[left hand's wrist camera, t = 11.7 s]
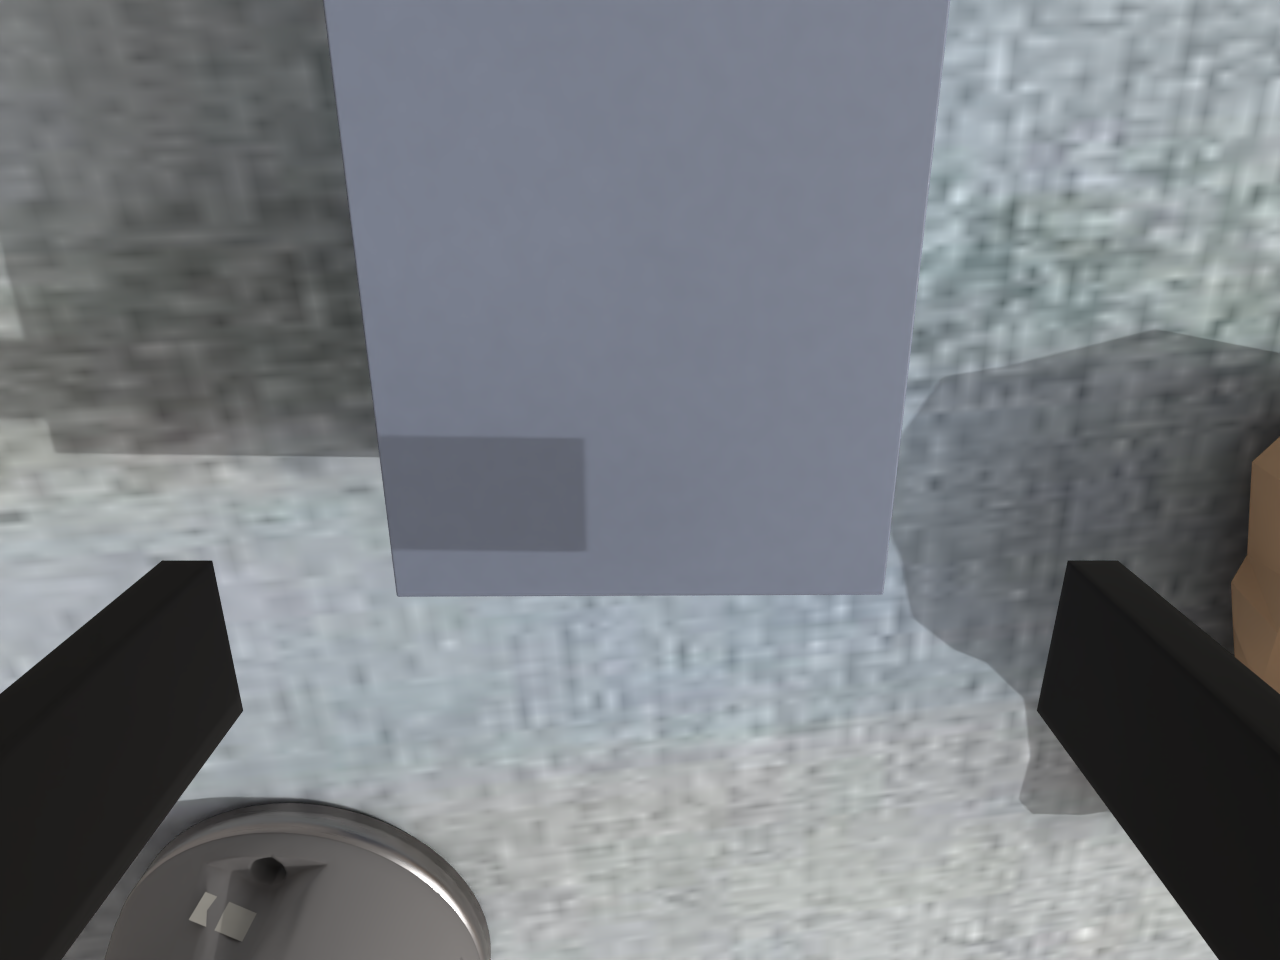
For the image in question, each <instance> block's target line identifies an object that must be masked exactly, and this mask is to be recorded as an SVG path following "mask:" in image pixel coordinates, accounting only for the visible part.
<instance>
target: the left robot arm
mask: <svg viewBox="0 0 1280 960" xmlns="http://www.w3.org/2000/svg"><path fill="white" fill-rule="evenodd" d="M242 711H243V708H242V703H241V698H240V693H239V688H238V684H237V679H236V674H235V669H234V664H233V659H232V654H231V650H230V645H229V640H228V635H227V630H226V625H225V621H224V616H223V611H222V606H221V601H220V596H219V591H218V587H217V582H216V577H215V572H214V567H213V562H212V561H161V562H160V563H159V564H158V565H156V566H155V567H154V568H153V569H152V570H150V571H149V572H148V573H147V574H145V575H144V576H143V577H142V578H141V579H139V580H138V581H137V582H136V583H135V584H133V585H132V586H131V587H130V588H128V589H127V590H126V591H125V592H124V593H122V594H121V595H120V596H119V597H117V598H116V599H115V600H114V601H113V602H111V603H110V604H109V605H108V606H107V607H105V608H104V609H103V610H102V611H100V612H99V613H98V614H97V615H96V616H94V617H93V618H92V619H91V620H90V621H88V622H87V623H86V624H85V625H83V626H82V627H81V628H80V629H79V630H77V631H76V632H75V633H74V634H73V635H71V636H70V637H69V638H68V639H66V640H65V641H64V642H63V643H62V644H60V645H59V646H58V647H57V648H56V649H54V650H53V651H52V652H51V653H49V654H48V655H47V656H46V657H45V658H43V659H42V660H41V661H40V662H39V663H37V664H36V665H35V666H34V667H32V668H31V669H30V670H29V671H28V672H26V673H25V674H24V675H23V676H22V677H20V678H19V679H18V680H17V681H15V682H14V683H13V684H12V685H11V686H9V687H8V688H7V689H6V690H4V691H3V692H2V693H1V694H0V960H61V959H62V958H63V956H64V955H65V954H66V952H67V951H68V950H69V948H70V947H71V946H72V944H73V943H74V941H75V940H76V939H77V937H78V936H79V935H80V933H81V932H82V930H83V929H84V928H85V926H86V925H87V924H88V922H89V921H90V920H91V918H92V917H93V915H94V914H95V913H96V911H97V910H98V909H99V907H100V906H101V904H102V903H103V902H104V900H105V899H106V898H107V896H108V895H109V894H110V892H111V891H112V889H113V888H114V887H115V885H116V884H117V883H118V881H119V880H120V878H121V877H122V876H123V874H124V873H125V872H126V870H127V869H128V867H129V866H130V865H131V863H132V862H133V861H134V859H135V858H136V857H137V855H138V854H139V852H140V851H141V850H142V848H143V847H144V846H145V844H146V843H147V841H148V840H149V839H150V837H151V836H152V835H153V833H154V832H155V831H156V829H157V828H158V826H159V825H160V824H161V822H162V821H163V820H164V818H165V817H166V815H167V814H168V813H169V811H170V810H171V809H172V807H173V806H174V805H175V803H176V802H177V800H178V799H179V798H180V796H181V795H182V794H183V792H184V791H185V789H186V788H187V787H188V785H189V784H190V783H191V781H192V780H193V779H194V777H195V776H196V774H197V773H198V772H199V770H200V769H201V768H202V766H203V765H204V763H205V762H206V761H207V759H208V758H209V757H210V755H211V754H212V753H213V751H214V750H215V748H216V747H217V746H218V744H219V743H220V742H221V740H222V739H223V737H224V736H225V735H226V733H227V732H228V731H229V729H230V728H231V727H232V725H233V724H234V722H235V721H236V720H237V718H238V717H239V716H240V714H241V713H242ZM1037 711H1038V713H1039V714H1040V716H1041V717H1042V718H1043V720H1044V721H1045V722H1046V724H1047V725H1048V727H1049V728H1050V729H1051V731H1052V732H1053V733H1054V735H1055V736H1056V737H1057V739H1058V740H1059V742H1060V743H1061V744H1062V746H1063V747H1064V748H1065V750H1066V751H1067V753H1068V754H1069V755H1070V757H1071V758H1072V759H1073V761H1074V762H1075V763H1076V765H1077V766H1078V768H1079V769H1080V770H1081V772H1082V773H1083V774H1084V776H1085V777H1086V779H1087V780H1088V781H1089V783H1090V784H1091V785H1092V787H1093V788H1094V789H1095V791H1096V792H1097V794H1098V795H1099V796H1100V798H1101V799H1102V800H1103V802H1104V803H1105V805H1106V806H1107V807H1108V809H1109V810H1110V811H1111V813H1112V814H1113V815H1114V817H1115V818H1116V820H1117V821H1118V822H1119V824H1120V825H1121V826H1122V828H1123V829H1124V831H1125V832H1126V833H1127V835H1128V836H1129V837H1130V839H1131V840H1132V841H1133V843H1134V844H1135V846H1136V847H1137V848H1138V850H1139V851H1140V852H1141V854H1142V855H1143V857H1144V858H1145V859H1146V861H1147V862H1148V863H1149V865H1150V866H1151V868H1152V869H1153V870H1154V872H1155V873H1156V874H1157V876H1158V877H1159V878H1160V880H1161V881H1162V883H1163V884H1164V885H1165V887H1166V888H1167V889H1168V891H1169V892H1170V894H1171V895H1172V896H1173V898H1174V899H1175V900H1176V902H1177V903H1178V904H1179V906H1180V907H1181V909H1182V910H1183V911H1184V913H1185V914H1186V915H1187V917H1188V918H1189V920H1190V921H1191V922H1192V924H1193V925H1194V926H1195V928H1196V929H1197V930H1198V932H1199V933H1200V935H1201V936H1202V937H1203V939H1204V940H1205V941H1206V943H1207V944H1208V946H1209V947H1210V948H1211V950H1212V951H1213V952H1214V954H1215V955H1216V956H1217V958H1218V959H1219V960H1280V694H1279V693H1278V692H1277V691H1276V690H1274V689H1273V688H1272V687H1271V686H1269V685H1268V684H1267V683H1266V682H1265V681H1263V680H1262V679H1261V678H1260V677H1258V676H1257V675H1256V674H1255V673H1254V672H1252V671H1251V670H1250V669H1249V668H1248V667H1246V666H1245V665H1244V664H1243V663H1241V662H1240V661H1239V660H1238V659H1237V658H1235V657H1234V656H1233V655H1232V654H1231V653H1229V652H1228V651H1227V650H1226V649H1224V648H1223V647H1222V646H1221V645H1220V644H1218V643H1217V642H1216V641H1215V640H1214V639H1212V638H1211V637H1210V636H1209V635H1207V634H1206V633H1205V632H1204V631H1203V630H1201V629H1200V628H1199V627H1198V626H1197V625H1195V624H1194V623H1193V622H1192V621H1190V620H1189V619H1188V618H1187V617H1186V616H1184V615H1183V614H1182V613H1181V612H1180V611H1178V610H1177V609H1176V608H1175V607H1173V606H1172V605H1171V604H1170V603H1169V602H1167V601H1166V600H1165V599H1164V598H1163V597H1161V596H1160V595H1159V594H1158V593H1156V592H1155V591H1154V590H1153V589H1152V588H1150V587H1149V586H1148V585H1147V584H1145V583H1144V582H1143V581H1142V580H1141V579H1139V578H1138V577H1137V576H1136V575H1135V574H1133V573H1132V572H1131V571H1130V570H1128V569H1127V568H1126V567H1125V566H1124V565H1122V564H1121V563H1120V562H1119V561H1068V562H1067V567H1066V572H1065V577H1064V582H1063V587H1062V591H1061V596H1060V601H1059V606H1058V611H1057V616H1056V621H1055V625H1054V630H1053V635H1052V640H1051V645H1050V650H1049V654H1048V659H1047V664H1046V669H1045V674H1044V679H1043V684H1042V688H1041V693H1040V698H1039V703H1038V708H1037ZM490 958H491V943H490V936H489V930H488V926H487V923H486V919H485V916H484V914H483V911H482V909H481V907H480V905H479V903H478V901H477V899H476V897H475V895H474V894H473V892H472V891H471V889H470V888H469V886H468V885H467V884H466V882H465V881H464V880H463V878H462V877H461V876H460V875H459V874H458V873H457V872H456V870H455V869H454V868H453V867H452V866H451V865H450V864H449V863H447V862H446V861H445V860H444V859H443V858H442V857H441V856H440V855H438V854H437V853H436V852H435V851H433V850H432V849H431V848H430V847H428V846H427V845H425V844H424V843H422V842H421V841H419V840H418V839H416V838H414V837H413V836H411V835H409V834H407V833H405V832H404V831H402V830H400V829H398V828H396V827H393V826H391V825H389V824H387V823H385V822H382V821H380V820H377V819H374V818H371V817H369V816H366V815H363V814H359V813H356V812H352V811H348V810H344V809H339V808H334V807H329V806H322V805H314V804H300V803H276V804H264V805H255V806H250V807H244V808H239V809H235V810H232V811H228V812H225V813H221V814H219V815H216V816H213V817H211V818H208V819H206V820H204V821H202V822H200V823H198V824H196V825H194V826H192V827H190V828H189V829H187V830H186V831H184V832H183V833H181V834H180V835H178V836H177V837H176V838H175V839H173V840H172V841H171V842H170V843H169V844H167V845H166V846H165V848H164V849H163V850H162V851H161V852H160V853H159V854H158V855H157V856H156V858H155V859H154V861H153V862H152V863H151V865H150V866H149V868H148V869H147V870H146V872H145V873H144V875H143V876H142V878H141V879H140V880H139V882H138V883H137V885H136V886H135V888H134V889H133V890H132V892H131V893H130V895H129V896H128V898H127V900H126V902H125V904H124V906H123V908H122V910H121V913H120V916H119V918H118V920H117V922H116V924H115V927H114V930H113V933H112V936H111V939H110V943H109V946H108V949H107V953H106V956H105V960H490Z"/></svg>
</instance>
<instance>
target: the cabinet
mask: <svg viewBox="0 0 1280 960" xmlns="http://www.w3.org/2000/svg"><path fill="white" fill-rule="evenodd" d="M323 4H324V12H325V20H326V28H327V36H328V44H329V52H330V60H331V68H332V76H333V85H334V93H335V101H336V109H337V117H338V125H339V133H340V141H341V149H342V157H343V165H344V173H345V181H346V189H347V197H348V205H349V213H350V221H351V230H352V238H353V246H354V254H355V262H356V270H357V278H358V286H359V294H360V302H361V310H362V318H363V326H364V334H365V342H366V350H367V358H368V367H369V375H370V383H371V391H372V399H373V407H374V415H375V423H376V431H377V439H378V447H379V455H380V463H381V471H382V479H383V487H384V495H385V504H386V512H387V520H388V528H389V536H390V544H391V552H392V560H393V568H394V576H395V584H396V592H397V596H399V597H405V596H633V595H861V594H883V591H884V582H885V573H886V564H887V555H888V546H889V537H890V529H891V520H892V511H893V502H894V493H895V484H896V476H897V467H898V458H899V449H900V440H901V431H902V422H903V414H904V405H905V396H906V387H907V378H908V369H909V360H910V352H911V343H912V334H913V325H914V316H915V307H916V298H917V290H918V281H919V272H920V263H921V254H922V245H923V237H924V228H925V219H926V210H927V201H928V192H929V183H930V175H931V166H932V157H933V148H934V139H935V130H936V121H937V113H938V104H939V95H940V86H941V77H942V68H943V59H944V51H945V42H946V33H947V24H948V15H949V6H950V0H323Z"/></svg>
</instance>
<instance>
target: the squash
mask: <svg viewBox="0 0 1280 960" xmlns="http://www.w3.org/2000/svg"><path fill="white" fill-rule="evenodd" d="M1231 593H1232V616H1233V636H1234V654H1235V658H1237V659H1238V660H1239V661H1240V662H1241V663H1243V664H1244V665H1245V666H1246V667H1248V668H1249V669H1250V670H1251V671H1252V672H1254V673H1255V674H1256V675H1257V676H1258V677H1260V678H1261V679H1262V680H1263V681H1265V682H1266V683H1267V684H1268V685H1269V686H1271V687H1272V688H1273V689H1274V690H1276V691H1277V692H1278V693H1279V694H1280V437H1279V438H1278V439H1277V440H1276V441H1274V442H1273V443H1272V444H1271V445H1270V446H1269V447H1268V448H1267V449H1266V450H1265V451H1263V452H1262V453H1261V454H1260V455H1259V456H1258V457H1257V458H1256V459H1255V460H1254V461H1252V473H1251V492H1250V511H1249V530H1248V549H1247V556H1246V557H1245V559H1244V561H1243V563H1242V564H1241V566H1240V568H1239V569H1238V571H1237V573H1236V575H1235V576H1234V578H1233V580H1232V582H1231Z"/></svg>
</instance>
